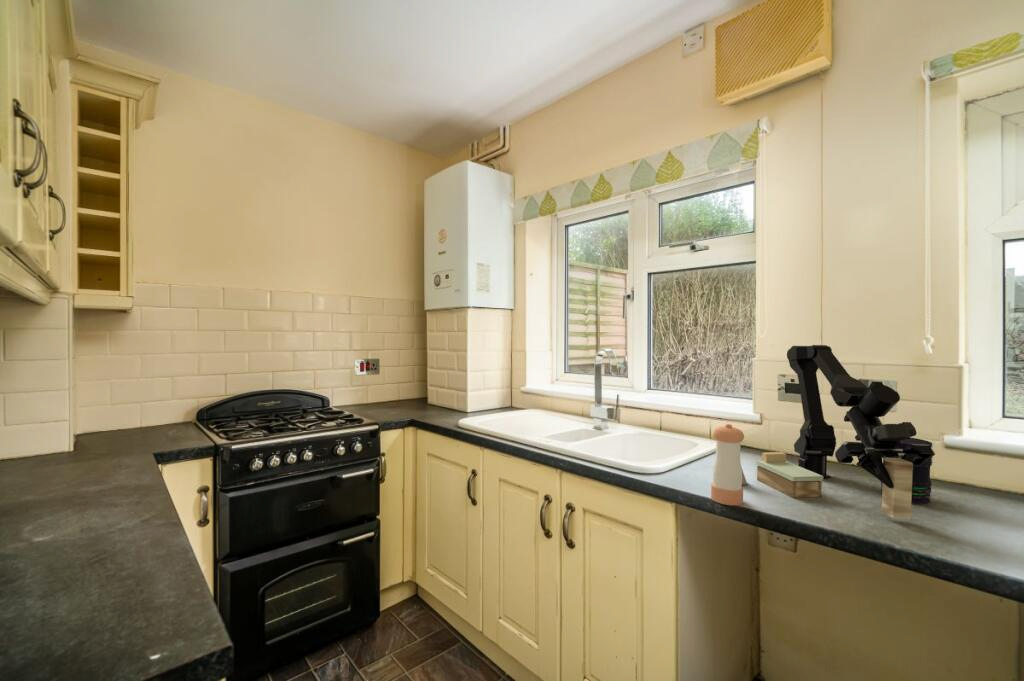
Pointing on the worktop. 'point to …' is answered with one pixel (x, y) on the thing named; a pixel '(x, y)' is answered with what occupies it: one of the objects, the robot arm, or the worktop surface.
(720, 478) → the pepper shaker
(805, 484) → the wooden box tray
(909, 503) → the brown box
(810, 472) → the lid
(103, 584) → the worktop surface
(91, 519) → the worktop surface
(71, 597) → the worktop surface
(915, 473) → the storage jar
